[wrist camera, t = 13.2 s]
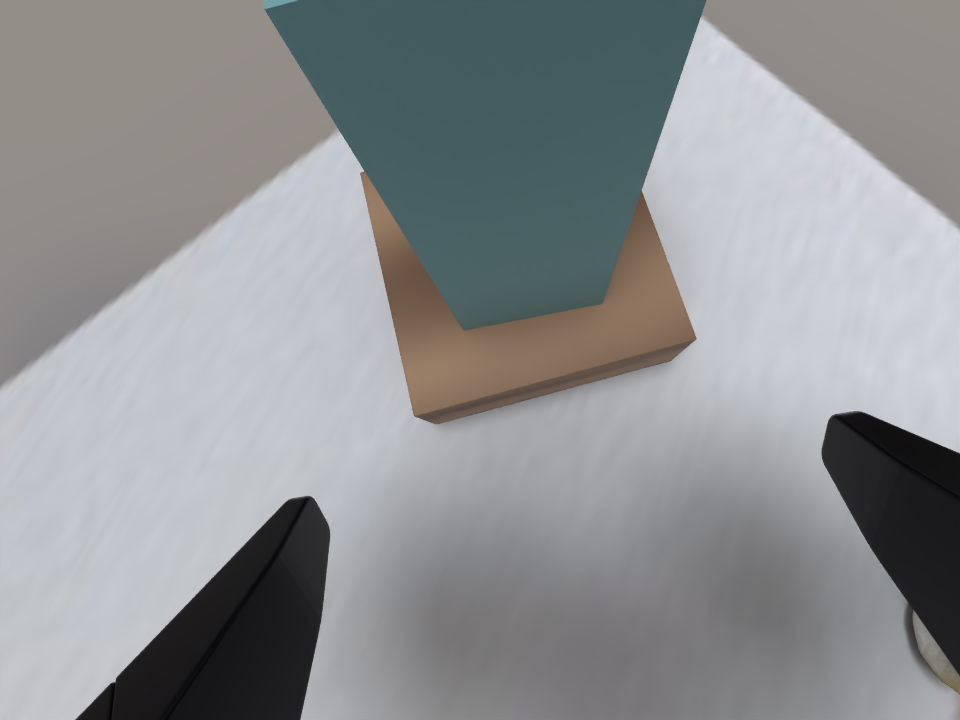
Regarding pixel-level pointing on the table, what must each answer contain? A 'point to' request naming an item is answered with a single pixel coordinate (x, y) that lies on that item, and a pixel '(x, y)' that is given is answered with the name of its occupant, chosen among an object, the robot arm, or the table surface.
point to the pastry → (935, 655)
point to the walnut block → (527, 328)
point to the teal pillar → (500, 131)
